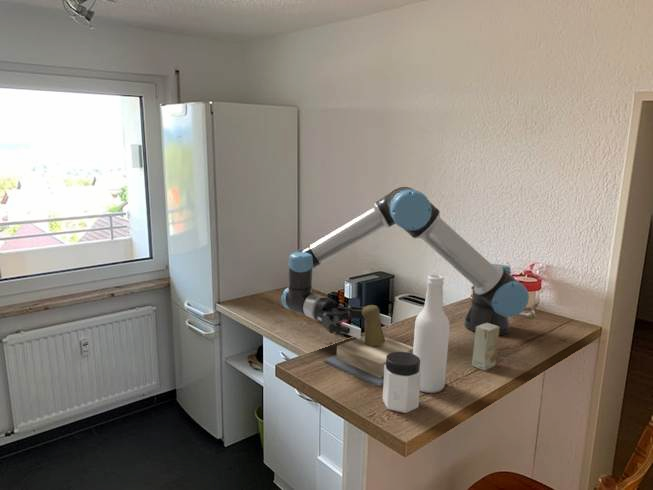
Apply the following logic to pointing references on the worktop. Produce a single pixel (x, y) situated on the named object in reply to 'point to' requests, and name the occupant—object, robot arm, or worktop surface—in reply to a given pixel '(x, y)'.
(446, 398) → the worktop surface
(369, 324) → the cork
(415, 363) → the jar
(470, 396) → the worktop surface
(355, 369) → the plinth
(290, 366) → the worktop surface
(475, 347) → the skincare box
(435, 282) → the alcohol
